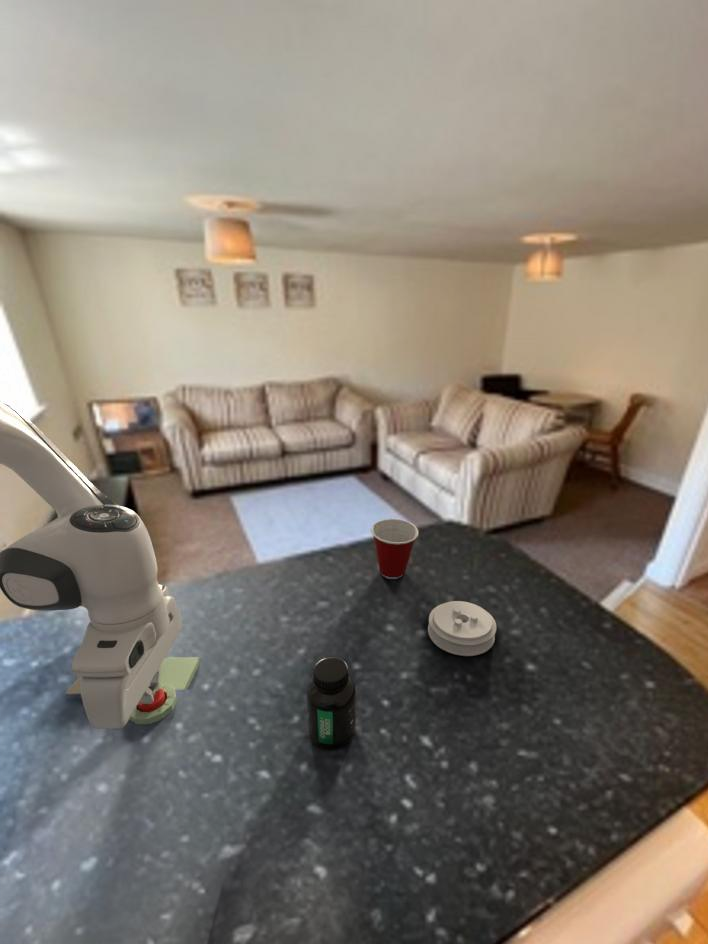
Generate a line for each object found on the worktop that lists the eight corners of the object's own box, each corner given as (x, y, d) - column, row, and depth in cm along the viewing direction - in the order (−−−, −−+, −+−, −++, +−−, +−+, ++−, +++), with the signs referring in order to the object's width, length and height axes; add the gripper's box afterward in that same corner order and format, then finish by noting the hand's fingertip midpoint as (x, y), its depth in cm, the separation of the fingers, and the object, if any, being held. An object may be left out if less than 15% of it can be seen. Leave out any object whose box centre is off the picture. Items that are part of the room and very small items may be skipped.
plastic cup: (383, 591, 99) (385, 544, 94) (362, 568, 107) (362, 523, 102) (424, 579, 104) (428, 533, 99) (400, 558, 112) (403, 515, 107)
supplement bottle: (331, 761, 62) (329, 697, 57) (299, 732, 66) (294, 670, 61) (365, 729, 66) (365, 668, 61) (333, 704, 70) (331, 645, 65)
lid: (507, 648, 83) (511, 626, 81) (450, 668, 78) (453, 646, 76) (468, 609, 94) (471, 590, 92) (415, 625, 89) (417, 604, 87)
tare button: (134, 715, 65) (132, 706, 64) (145, 695, 68) (143, 687, 68) (159, 715, 65) (157, 706, 65) (169, 695, 69) (167, 687, 68)
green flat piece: (53, 734, 64) (47, 719, 63) (106, 662, 77) (102, 648, 76) (168, 733, 65) (164, 718, 64) (201, 662, 78) (199, 649, 77)
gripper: (143, 578, 70) (159, 647, 75) (61, 677, 51) (91, 759, 57) (184, 578, 70) (197, 647, 76) (117, 677, 51) (141, 758, 57)
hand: (151, 696), depth 66 cm, fingers closed, pressing on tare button
